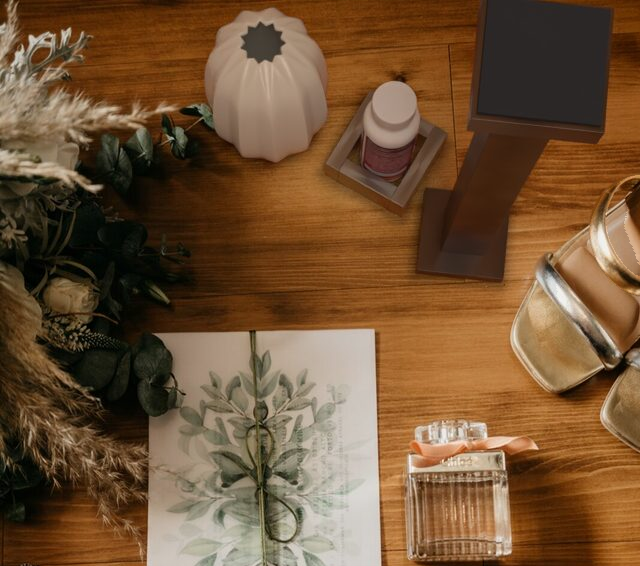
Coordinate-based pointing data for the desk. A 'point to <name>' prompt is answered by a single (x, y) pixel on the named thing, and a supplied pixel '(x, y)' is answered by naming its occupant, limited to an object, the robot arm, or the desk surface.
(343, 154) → the stand
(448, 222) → the plant stand
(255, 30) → the vase
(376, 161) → the pill bottle
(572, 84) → the mat
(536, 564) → the desk surface
